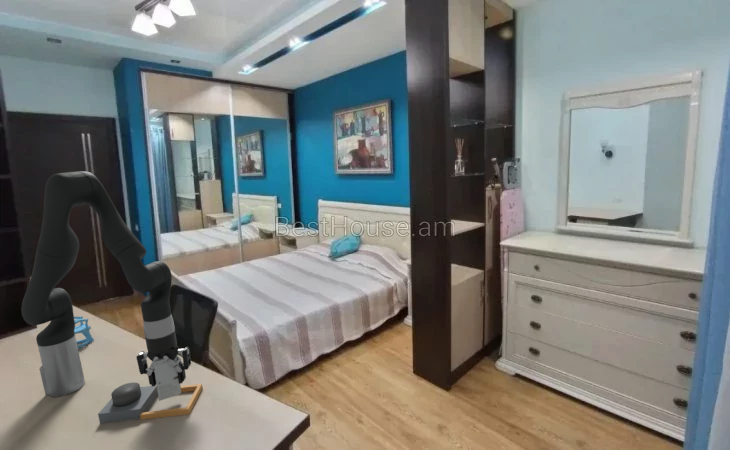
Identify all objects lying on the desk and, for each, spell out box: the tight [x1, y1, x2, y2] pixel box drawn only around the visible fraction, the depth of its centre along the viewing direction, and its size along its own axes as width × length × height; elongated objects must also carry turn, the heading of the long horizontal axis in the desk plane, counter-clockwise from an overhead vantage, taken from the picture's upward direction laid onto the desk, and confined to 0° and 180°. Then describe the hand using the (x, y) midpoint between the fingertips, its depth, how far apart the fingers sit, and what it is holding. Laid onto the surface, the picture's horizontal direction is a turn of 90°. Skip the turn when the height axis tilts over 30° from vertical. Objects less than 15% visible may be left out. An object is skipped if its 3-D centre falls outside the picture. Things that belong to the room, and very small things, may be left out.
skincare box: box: [153, 356, 182, 402], centre depth 107 cm, size 6×4×12 cm
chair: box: [74, 315, 95, 350], centre depth 147 cm, size 8×8×12 cm
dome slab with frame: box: [97, 382, 203, 424], centre depth 108 cm, size 24×12×6 cm, turn 97°
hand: (168, 383), depth 107 cm, fingers closed on skincare box, 7 cm apart
